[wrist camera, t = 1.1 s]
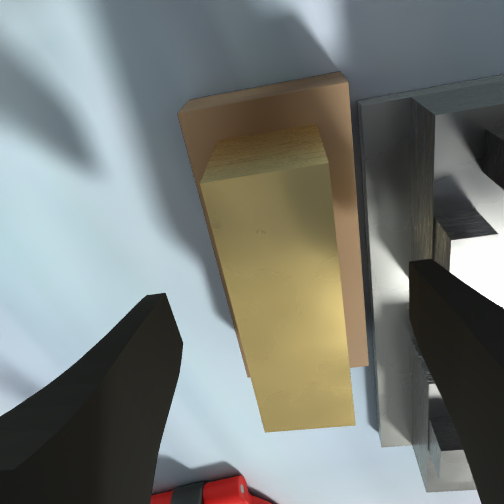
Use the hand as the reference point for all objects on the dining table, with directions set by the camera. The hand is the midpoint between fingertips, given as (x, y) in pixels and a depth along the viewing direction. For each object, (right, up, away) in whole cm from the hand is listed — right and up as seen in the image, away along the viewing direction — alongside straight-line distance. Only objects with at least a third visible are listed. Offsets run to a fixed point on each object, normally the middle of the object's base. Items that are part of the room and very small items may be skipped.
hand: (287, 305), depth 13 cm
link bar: (0, +1, +2) cm, 3 cm away
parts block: (0, +2, +4) cm, 5 cm away
